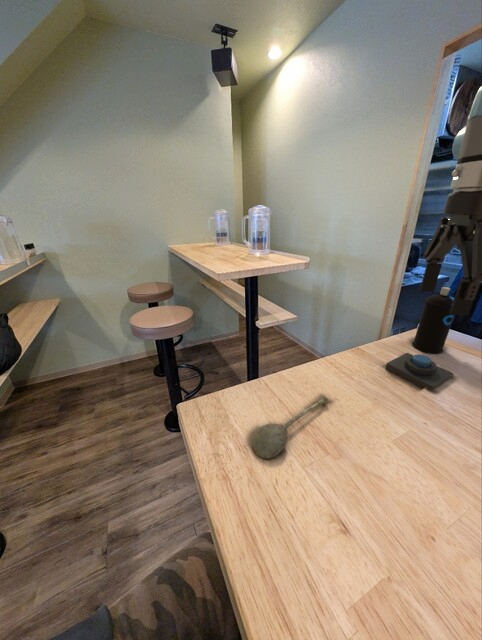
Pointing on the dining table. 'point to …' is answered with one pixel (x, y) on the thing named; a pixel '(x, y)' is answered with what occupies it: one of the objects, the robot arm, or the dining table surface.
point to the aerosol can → (434, 323)
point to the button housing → (418, 372)
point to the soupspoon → (275, 435)
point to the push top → (421, 360)
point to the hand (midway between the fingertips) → (440, 301)
